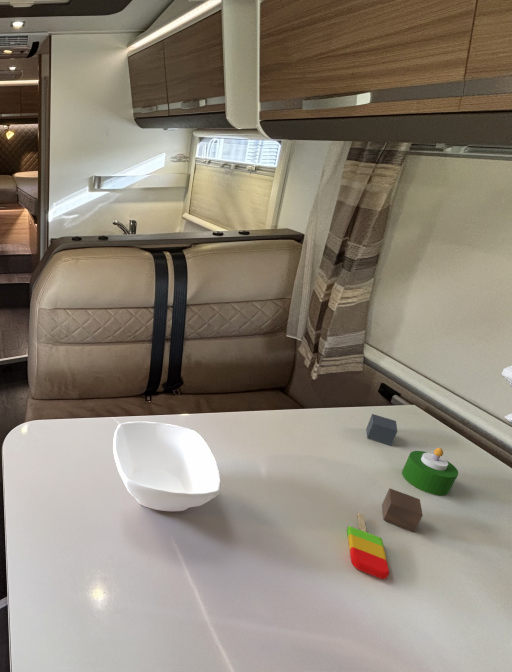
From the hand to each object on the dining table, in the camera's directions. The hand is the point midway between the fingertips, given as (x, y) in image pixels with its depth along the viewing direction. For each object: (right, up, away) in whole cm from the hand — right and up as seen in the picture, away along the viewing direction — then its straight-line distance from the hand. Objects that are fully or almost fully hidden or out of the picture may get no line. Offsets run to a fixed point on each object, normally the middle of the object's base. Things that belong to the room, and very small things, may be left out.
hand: (511, 424), depth 87 cm
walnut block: (-18, -22, +6) cm, 29 cm away
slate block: (-2, -13, +29) cm, 31 cm away
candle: (-3, -18, +15) cm, 24 cm away
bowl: (-68, -20, +13) cm, 72 cm away
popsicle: (-30, -25, 0) cm, 39 cm away
